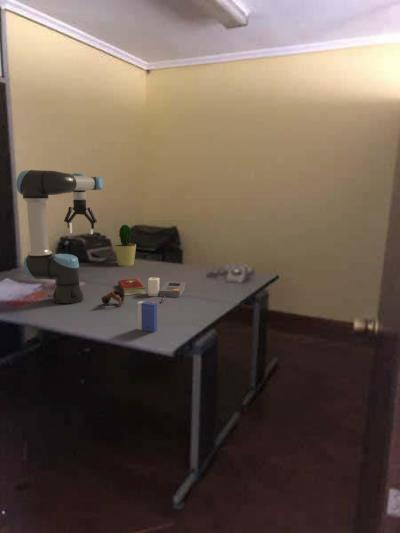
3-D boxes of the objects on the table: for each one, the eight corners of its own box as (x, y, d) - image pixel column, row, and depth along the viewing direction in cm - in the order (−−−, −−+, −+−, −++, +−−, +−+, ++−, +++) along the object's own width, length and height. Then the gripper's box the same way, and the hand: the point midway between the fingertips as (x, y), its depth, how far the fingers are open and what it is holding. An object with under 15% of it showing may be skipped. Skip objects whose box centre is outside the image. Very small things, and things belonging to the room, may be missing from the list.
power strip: (175, 303, 198) (175, 297, 197) (154, 302, 199) (154, 296, 199) (185, 287, 230) (185, 281, 229) (166, 286, 231) (166, 280, 230)
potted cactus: (122, 267, 278) (121, 225, 272) (111, 264, 290) (110, 223, 283) (140, 265, 288) (140, 224, 282) (129, 261, 299) (128, 222, 293)
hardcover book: (123, 296, 212) (123, 288, 211) (118, 286, 231) (118, 279, 230) (145, 294, 216) (145, 287, 215) (138, 284, 235) (138, 278, 234)
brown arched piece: (111, 301, 202) (118, 288, 200) (122, 313, 197) (130, 300, 196) (94, 301, 191) (101, 288, 190) (105, 313, 187) (113, 299, 185)
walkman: (157, 329, 163) (157, 302, 161) (154, 332, 161) (153, 304, 158) (140, 327, 166) (140, 300, 164) (137, 329, 164) (136, 301, 161)
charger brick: (157, 296, 211) (157, 279, 209) (148, 295, 212) (148, 279, 210) (159, 293, 216) (159, 277, 214) (150, 293, 217) (150, 277, 215)
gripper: (101, 199, 242) (102, 233, 247) (63, 198, 245) (64, 232, 250) (96, 199, 235) (98, 235, 239) (57, 198, 238) (59, 233, 242)
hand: (81, 233), depth 245 cm, fingers open, 13 cm apart
